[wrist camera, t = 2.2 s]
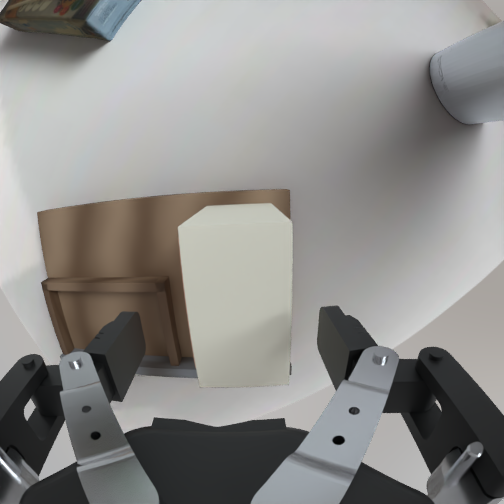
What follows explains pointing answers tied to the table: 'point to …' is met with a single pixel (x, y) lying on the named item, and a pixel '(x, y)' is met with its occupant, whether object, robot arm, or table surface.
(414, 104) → the table surface
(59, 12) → the beverage carton
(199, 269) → the tea box
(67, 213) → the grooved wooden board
